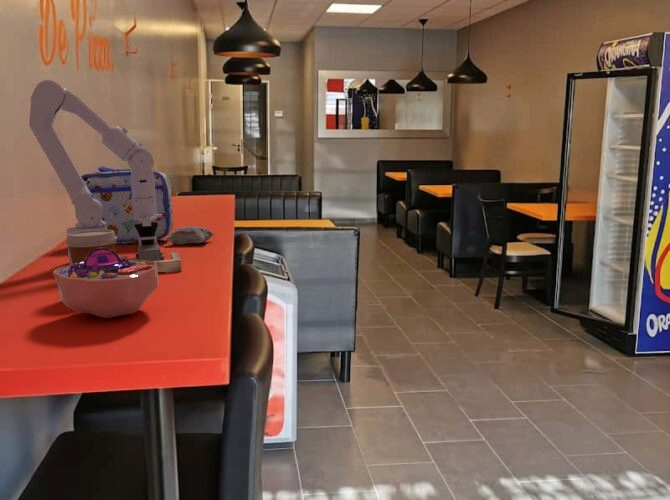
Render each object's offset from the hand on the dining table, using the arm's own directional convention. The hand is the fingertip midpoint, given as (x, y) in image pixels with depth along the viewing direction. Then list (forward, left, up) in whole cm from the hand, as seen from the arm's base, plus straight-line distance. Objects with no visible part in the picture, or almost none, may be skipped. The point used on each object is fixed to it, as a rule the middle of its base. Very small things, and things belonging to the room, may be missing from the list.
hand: (148, 251), depth 178 cm
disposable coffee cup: (-11, -38, -2) cm, 40 cm away
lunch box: (-5, +29, -2) cm, 30 cm away
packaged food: (+11, +17, -2) cm, 20 cm away
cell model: (-8, -57, -2) cm, 58 cm away
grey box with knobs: (0, -6, -1) cm, 6 cm away
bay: (0, -16, -1) cm, 16 cm away
